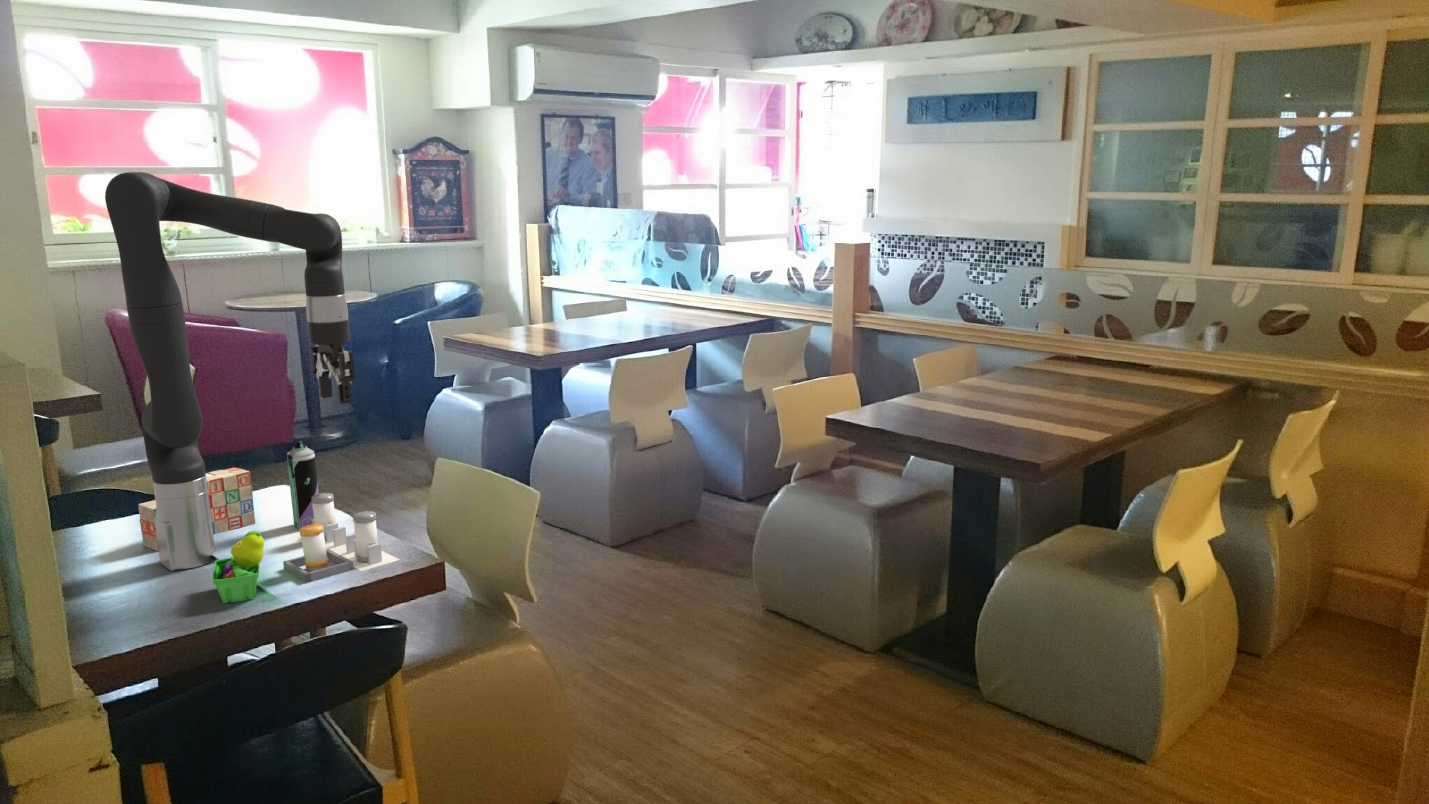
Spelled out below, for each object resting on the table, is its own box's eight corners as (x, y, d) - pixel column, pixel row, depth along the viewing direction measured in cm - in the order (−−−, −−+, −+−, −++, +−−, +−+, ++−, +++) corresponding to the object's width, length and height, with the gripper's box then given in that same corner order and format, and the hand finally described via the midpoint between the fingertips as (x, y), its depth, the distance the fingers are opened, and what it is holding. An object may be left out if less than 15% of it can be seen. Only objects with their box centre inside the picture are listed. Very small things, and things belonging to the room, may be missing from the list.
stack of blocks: (158, 552, 208) (150, 494, 206) (143, 546, 212) (135, 489, 209) (256, 524, 225) (250, 470, 223) (240, 519, 229) (234, 466, 226)
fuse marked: (332, 572, 193) (325, 527, 191) (309, 578, 191) (301, 532, 189) (327, 567, 197) (320, 522, 195) (304, 572, 194) (297, 527, 193)
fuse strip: (361, 578, 192) (359, 553, 191) (297, 544, 212) (295, 521, 211) (400, 567, 198) (398, 542, 197) (334, 534, 217) (332, 511, 216)
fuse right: (363, 564, 196) (359, 519, 194) (353, 559, 198) (348, 514, 197) (383, 558, 198) (379, 514, 197) (373, 553, 201) (369, 509, 199)
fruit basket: (217, 585, 190) (210, 528, 188) (269, 578, 194) (263, 521, 191) (215, 608, 180) (207, 547, 178) (269, 599, 184) (262, 539, 181)
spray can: (312, 536, 216) (303, 445, 212) (289, 535, 217) (279, 444, 213) (327, 528, 221) (318, 438, 217) (304, 526, 223) (295, 437, 218)
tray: (307, 590, 187) (306, 574, 187) (284, 576, 194) (283, 561, 194) (354, 576, 194) (352, 561, 193) (330, 563, 200) (328, 549, 200)
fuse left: (321, 542, 208) (317, 500, 206) (312, 538, 211) (307, 496, 209) (341, 537, 211) (337, 495, 209) (331, 533, 214) (327, 491, 212)
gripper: (362, 319, 196) (370, 402, 199) (330, 313, 206) (338, 392, 209) (324, 323, 191) (332, 408, 194) (293, 317, 201) (302, 398, 204)
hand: (335, 400), depth 201 cm, fingers open, 8 cm apart
